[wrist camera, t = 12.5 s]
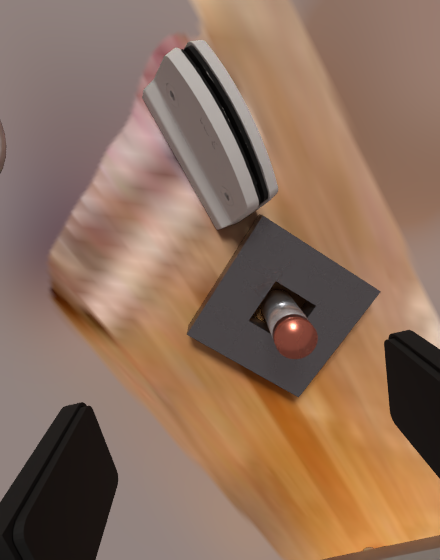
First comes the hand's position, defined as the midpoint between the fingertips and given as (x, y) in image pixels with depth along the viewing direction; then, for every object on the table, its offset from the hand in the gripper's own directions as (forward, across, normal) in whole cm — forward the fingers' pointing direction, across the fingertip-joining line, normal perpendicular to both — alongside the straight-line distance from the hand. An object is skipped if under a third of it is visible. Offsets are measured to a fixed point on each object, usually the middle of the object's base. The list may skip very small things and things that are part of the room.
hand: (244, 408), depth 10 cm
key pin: (+28, -6, +8) cm, 30 cm away
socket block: (+28, -6, +8) cm, 30 cm away
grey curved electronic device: (+29, -2, -11) cm, 31 cm away
